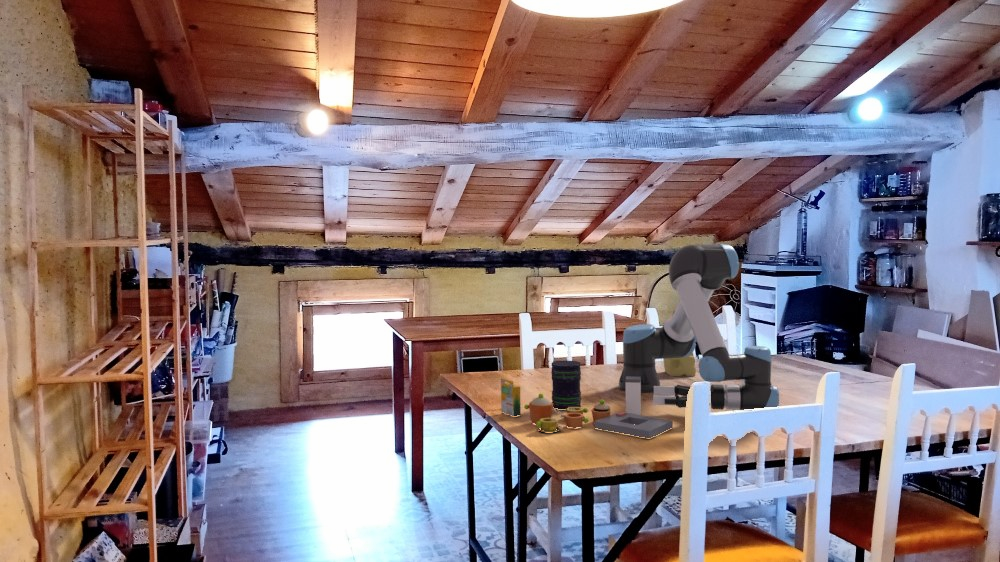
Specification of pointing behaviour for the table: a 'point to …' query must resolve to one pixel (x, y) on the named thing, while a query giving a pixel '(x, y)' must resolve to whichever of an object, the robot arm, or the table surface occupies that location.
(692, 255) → the robot arm
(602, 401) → the toy tea set
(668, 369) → the cheese
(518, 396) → the crayon box
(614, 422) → the socket
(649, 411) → the table surface
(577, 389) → the storage jar
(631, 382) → the plug
